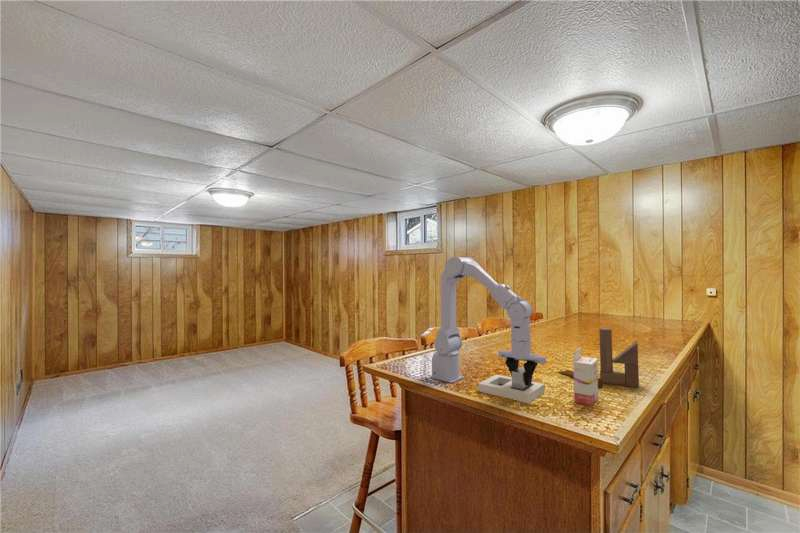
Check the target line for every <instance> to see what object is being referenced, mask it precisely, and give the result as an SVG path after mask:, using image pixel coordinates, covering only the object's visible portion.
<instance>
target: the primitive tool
mask: <svg viewBox="0 0 800 533" xmlns="http://www.w3.org/2000/svg"><path fill="white" fill-rule="evenodd" d="M556 373H558V374H559V375H563V376H566V377H568V378H571V379H573V380H574V370H569V369H568V370H567V369H566V370H563V371H562V370H561V371H557V372H556ZM603 386H604V383H603V382H602V380H601V379H600V377H598V389H603Z"/></svg>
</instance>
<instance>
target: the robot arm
mask: <svg viewBox="0 0 800 533" xmlns="http://www.w3.org/2000/svg"><path fill="white" fill-rule="evenodd" d="M464 277H472V278H474V279H475V280H476V281H478V282H479V283H480V284H481V285H482V286H484V287H485V288H486V289H487V290H489V291H490V294H491V298H492V299H493V300H494V301H496V302H497V304H499V305H500V306H501V308H503V309H504V310H505V311H506V314H507V317H508V318H509V319H510V342H511V344H510V346H511V347H510V348H511V349H510V350H498V351H497V356H498V358H501V359H502V358H505V359H506V360H505V361H504V363H505V366H506V367H507V368H508V370H509V373H510V375H511V376H510V377H512V371H513V370H515V369H517V368H519V362H520V361H521V362H522V361H524V363H523V367H524V369H525V381H526V386H529V385H531V380H532V381H533V377H534V376H533V375H534V372H535V370H536V368H537V366H538V365H539V364H540V365H546V364H547V357H546V356H544V355H543V356H542V355H538V354H534V353H532V349H531V348H532V343H531V342H532V340H531V338H532V337H531V316H532V315H533V307H532V304H530V302H529V301H528V300H525V299H522V297H521V295H517V294H516V293H515V292H513V291H512V289H511V286H510V285H508V284H504V283H498V282H497V281H496V280H495V279H493V277H492V276H490V274H489V273H487V271H485V269H483V267H482V266H481V265H480V264H479V263H478V262H477V261H475V260H474V259H473V258H472V257H470V256H452V257H450V258H448V259H447V260H446V261H445V262H444V269H443V271H442V274H441V276H440V327H439V328H438V330H437V332H436V337H435V340H434V344H433V346H434V349H435V352H434V353H433V355H432V357H431V375H430V378H431V379H434V380H438V381H443V382H446V383H450V384H451V383H455V382H457V381H460V380H462V379H464V378H465V376H464V375H460V356H459V355H460V354H459V353H460V349H461V348H462V347H463V340H462V337H461V331H460V329H459V328H458V327H457V283H458V282H460V280H461V279H462V278H464Z"/></svg>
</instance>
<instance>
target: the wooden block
mask: <svg viewBox="0 0 800 533" xmlns="http://www.w3.org/2000/svg"><path fill="white" fill-rule="evenodd" d="M598 335H599V359H600V360H599V362H600V363H599V364H600V369H599V378H600V379H601V380H602V382H603V384H607V385H617V386H627V387H633V388H639V387H640V378H639V377H640V376H639V348H638V347H639V345H638V344H639V343H638V342H637V341H634V342H633V343H631V344H630V345H629V346H628V347H627V348H625V349H624V350H623V351H621V352H620V353H619V354H618V355H617V356H615V357H614V358H613V332H612V328H607V327H601V328H599V334H598ZM613 364H622V365H624V372H621V371H618V370H614V369H613V368H614V367H613V366H614V365H613Z"/></svg>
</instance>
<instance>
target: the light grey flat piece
mask: <svg viewBox="0 0 800 533" xmlns="http://www.w3.org/2000/svg"><path fill="white" fill-rule="evenodd" d="M477 384H478V385H477V387H478V391H477V392H479V393H480V392H481V393H485V394H488V395H491V396H492V395H493V396H497V397H499V398H500V397H501V398H505V399H508V398H509V399H510V400H512V399H513V400H514V401H516V400H517V402H522V403H525V404H531V403H532V402H533V401H534V400H536V399H537V398H540V397H541V395H543V394H544V393H545V392H546V389H545V387H546V386H545V383H542V382H535V381H532V386H531V387H529V388H528V389H526V390H525V391H521V390H516V389H512V376H506V375H501V374H497V373H496V374H495V375H492V376H490V377H488V378H486V379H485V380H481V381H480V382H478V383H477ZM531 401H532V402H531Z"/></svg>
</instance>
